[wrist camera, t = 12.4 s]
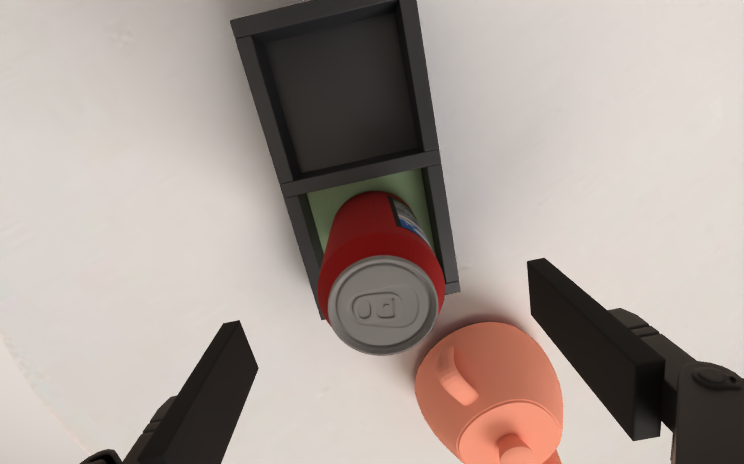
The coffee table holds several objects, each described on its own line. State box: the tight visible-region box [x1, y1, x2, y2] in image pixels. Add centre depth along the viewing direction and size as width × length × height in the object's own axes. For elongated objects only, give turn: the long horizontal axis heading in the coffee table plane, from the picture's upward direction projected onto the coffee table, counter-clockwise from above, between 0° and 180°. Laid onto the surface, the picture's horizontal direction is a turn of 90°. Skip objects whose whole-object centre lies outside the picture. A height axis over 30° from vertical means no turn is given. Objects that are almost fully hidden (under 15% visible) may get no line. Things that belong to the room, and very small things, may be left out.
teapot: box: [415, 322, 563, 464], centre depth 30 cm, size 12×18×10 cm
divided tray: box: [230, 0, 460, 320], centre depth 26 cm, size 21×11×4 cm, turn 12°
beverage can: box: [317, 191, 445, 356], centre depth 23 cm, size 7×7×12 cm
